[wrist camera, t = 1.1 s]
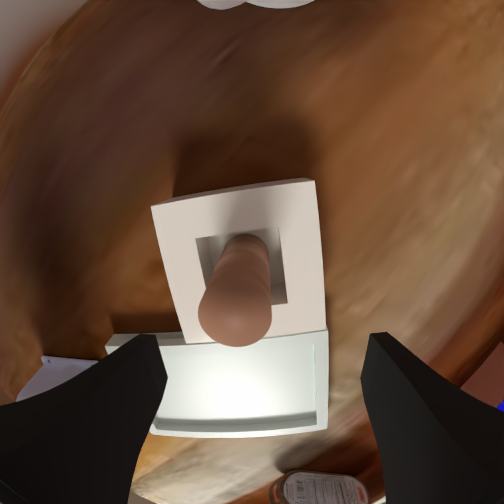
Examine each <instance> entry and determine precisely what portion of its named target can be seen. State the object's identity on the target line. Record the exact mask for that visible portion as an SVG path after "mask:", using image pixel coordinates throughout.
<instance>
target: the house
mask: <svg viewBox="0 0 504 504" xmlns="http://www.w3.org/2000/svg"><path fill="white" fill-rule="evenodd" d="M460 389H461V390H463V391H465V392H466V393H468V394H470V395H471V396H473V397H475V398H477V399H478V400H480V401H482V402H484V403H486V404H488V405H491V406H493V407H495V408H497V409H499V410H502V411H504V344H503V343H502V342H500V343H499V344H498V345H497V347H496V348H495V349H494V350H493V352H492V353H491V354H490V355H489V357H488V358H487V359H486V360H485V361H484V362H483V364H482V365H481V366H480V367H479V368H478V369H477V370H476V371H475V373H474V374H473V375H472V376H471V377H470V378H469V379H468V380H467V381H466V382H465V383H464V384H463V385H462V386H461V387H460Z"/></svg>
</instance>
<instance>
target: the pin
mask: <svg viewBox="0 0 504 504" xmlns="http://www.w3.org/2000/svg"><path fill="white" fill-rule="evenodd" d="M198 319H199V323H200V325H201V327H202V329H203V330H204V332H205V333H206V334H207V335H208V336H209V337H210V338H211V339H213V340H214V341H216V342H218V343H220V344H222V345H226V346H230V347H243V346H248V345H251V344H254V343H256V342H257V341H259V340H260V339H262V338H263V337H264V336H265V335H266V333H267V332H268V330H269V328H270V326H271V322H272V307H271V287H270V269H269V252H268V249H267V246H266V244H265V243H264V242H263V241H262V240H261V239H260V238H259V237H257V236H255V235H252V234H246V233H245V234H239V235H236V236H234V237H233V238H231V239H230V240H229V241H228V242H227V244H226V245H225V248H224V250H223V252H222V254H221V256H220V259H219V261H218V263H217V265H216V268H215V270H214V272H213V274H212V276H211V279H210V281H209V283H208V285H207V288H206V290H205V292H204V295H203V297H202V299H201V301H200V304H199V307H198Z"/></svg>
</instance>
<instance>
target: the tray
mask: <svg viewBox="0 0 504 504" xmlns="http://www.w3.org/2000/svg"><path fill="white" fill-rule="evenodd" d="M141 334H153V335H156V338H157V341H158V345H159V348H160V352H161V355H162V359H163V362H164V365H165V369H166V372H167V375H168V380H167V384H166V388H165V392H164V395H163V399H162V402H161V404H160V406H159V409H158V411H157V413H156V416H155V418H154V420H153V423H152V425H151V427H150V430H149V431H150V432H151V434H155V435H165V436H178V437H199V438H240V437H261V436H274V435H285V434H294V433H302V432H310V431H316V430H323V429H327V418H328V376H329V353H328V329H327V326H326V329H323V330H317V331H310V332H303V333H296V334H288V335H280V336H272V337H263V338H262V339H260V340H259V341H257V342H256V343H254V344H251V345H248V346H243V347H230V346H226V345H222V344H220V343H218V342H205V343H187V344H186V341H185V338H184V335H183V332H166V333H141ZM137 335H139V334H114V335H113V336H112V337H111V339H110V340H109V341H108V342H107V344H106V345H105V348H106V351H107V353H108V355H109V354H110V353H112V352H113V351H115V350H116V349H117V348H119V347H120V346H122V345H123V344H125V343H126V342H128V341H129V340H131V339H132V338H134V337H135V336H137Z"/></svg>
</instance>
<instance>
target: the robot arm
mask: <svg viewBox="0 0 504 504" xmlns="http://www.w3.org/2000/svg"><path fill="white" fill-rule="evenodd" d="M41 360H42V362H43V364H44V365H43V366H42V367H41V368H40V369H39V371H38V372H37V373H36V374H35V375H34V376H33V377H32V378H31V380H30V381H29V382H28V383H27V384H26V385H25V386H24V388H23V389H22V390H21V391H20V393H19V394H18V397H17V400H16V402H14V403H10V404H6V405H2V406H0V504H127V503H128V497H129V491H130V487H131V483H132V478H133V474H134V471H135V467H136V463H137V460H138V456H139V454H140V451H141V448H142V446H143V443H144V441H145V439H146V436H147V434H148V432H149V430H150V427H151V425H152V423H153V420H154V418H155V416H156V413H157V411H158V409H159V406H160V404H161V402H162V399H163V395H164V392H165V388H166V384H167V380H168V375H167V372H166V369H165V365H164V362H163V359H162V355H161V352H160V348H159V345H158V341H157V338H156V335H153V334H139V335H137V336H135V337H134V338H132V339H131V340H129V341H128V342H126V343H125V344H123V345H122V346H120V347H119V348H117V349H116V350H115V351H113V352H112V353H110V354H109V355H107V356H106V357H104V358H103V359H101V360H100V361H95V360H81V359H70V358H60V357H51V356H42V357H41ZM360 379H361V384H362V391H363V396H364V402H365V405H366V409H367V412H368V415H369V419H370V422H371V425H372V428H373V432H374V435H375V438H376V442H377V445H378V449H379V452H380V457H381V461H382V467H383V474H384V483H385V494H386V504H504V411H502V410H499V409H497V408H495V407H493V406H491V405H488V404H486V403H484V402H482V401H480V400H478V399H477V398H475V397H473V396H471V395H470V394H468V393H466V392H465V391H463V390H461V389H460V388H458V387H456V386H455V385H453V384H452V383H451V382H449V381H448V380H446V379H445V378H444V377H442V376H441V375H439V374H438V373H437V372H435V371H434V370H433V369H431V368H430V367H429V366H428V365H426V364H425V363H424V362H423V361H421V360H420V359H419V358H418V357H417V356H415V355H414V354H413V353H412V352H411V351H409V350H408V349H407V348H406V347H405V346H403V345H402V344H401V343H400V342H399V341H397V340H396V339H395V338H394V337H393V336H391V335H390V334H389V333H387V332H382V333H371V334H370V336H369V341H368V346H367V351H366V356H365V360H364V365H363V369H362V373H361V378H360Z"/></svg>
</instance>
